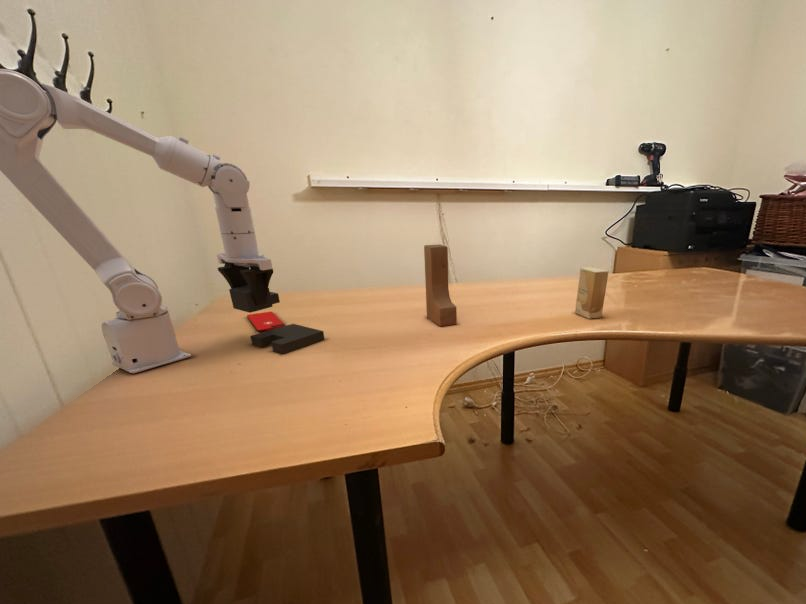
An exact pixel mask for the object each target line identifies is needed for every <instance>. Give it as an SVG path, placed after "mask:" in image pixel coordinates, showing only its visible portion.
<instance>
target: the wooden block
mask: <svg viewBox="0 0 806 604" xmlns="http://www.w3.org/2000/svg"><path fill="white" fill-rule="evenodd" d="M448 250H449V248H448V246H447V245H443V244H425V245H424V246H423V254H424V256H423V257H424V277H425V280H424V281H425V304H426V317H427V318H428V319H429V320H431V321H432V322H434V323H435V324H437V325H438V326H439V327H444V326H451V325H453V326H454V325H457V320H458V319H457V316H458V315H457V306H456V305H455V303H453V302H452V298H451V296H450V290H449V253H448V252H449V251H448Z"/></svg>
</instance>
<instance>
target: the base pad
mask: <svg viewBox="0 0 806 604" xmlns="http://www.w3.org/2000/svg"><path fill="white" fill-rule="evenodd" d="M250 340H251V344H252V346H255V347H259V348H266V347H268V346H271V348H272V351H273V352H274V353H278V354H281V355H284V354H287V353H291V352H293V351H296V350H299V349H302V348H305V347H309V346H312V345H313V344H316V343H319V342H322V341H324V340H325V333H324V330H321V329H316V328H313V327H309V326H305V325H302V324H301V325H300V324H297V323H290V324H287V325H285V326H283V327H280V328H276V329H273V330H267V331H261V332H258V333H255V334H252V335H250Z"/></svg>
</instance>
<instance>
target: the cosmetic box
mask: <svg viewBox="0 0 806 604" xmlns="http://www.w3.org/2000/svg"><path fill="white" fill-rule="evenodd" d="M608 277H609V271H608V270H607V269H602V268H598V267H594V266H587V267H581V268H580V271H579V277H578V287H577V294H576V302H575V309H574V313H575V314H577V315H579V316H582V317H584V318H586V319H588V320H591V319H598V318H602V316H603V309H604V303H605V298H606V297H605V296H606V290H607V284H608Z"/></svg>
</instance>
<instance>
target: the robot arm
mask: <svg viewBox="0 0 806 604" xmlns="http://www.w3.org/2000/svg"><path fill="white" fill-rule="evenodd" d="M39 83H40V85H41V86H40V85H39V84H38V83H37V82H36V81H34V79H32V78H30V77H29V76H26V75H25V74H23V73H20V72H18V71H15V70H12V69H6V68H0V172H1V173H2V174H3V175H4V176H5V177H6V178H7V180H9V182H10V183H11V184H12V185H13V186H14V187H15V188H16V189H17V190H18V191H19V192H20V193H21V194H22V195H23V196H24V198H26V199H27V200H28V201H29V203H30V204H31V205H32V206H33V207H34V208H35V209H36V210H37V212H39V213H40V215H42V217H43V218H44V219H45V220H46V221H47V222H48V223H49V224H50V225H51V226H52V227H53V228H54V229H55V230H56V232H57V233H58V234H60V236H61V237H62V238H64V240H65V241H66V242H67V243H68V244H69V245H70V246H71V247H72V249H74V251H75V252H76V253H77V254H78V255H79V256H80V257H81V258H82V259H83V260H84V261H85V262H86V263H87V264H88V266H90V267H91V269H92V270H93V271H94V272H95V274H96V275H97V277H98V278H99V279H100V281H101V282H102V283H103V284H104V286H105V287H106V288H107V289H108V290H109V292H110V294H111V295H112V296H111V297H112V301H113V303H114V305H115V307H116V308H117V310H118V311H116V312H115V316H116V317H115V318H113V319H110V320H106V321H103V322H102V323H101V331H102V334H103V338H104V341H105V344H106V346H107V348H108V352H109V354H110V358H111V361H112V362H111V363H112V365H113V366H114V367H117V368H119V369H122V370H123V371H126V372H128V373H129V374H136V373H140V372H143V371H147V370H151V369H153V368H157V367H160V366H164V365H167V364H171V363H174V362H177V361H181V360H185V359H187V358H191V357H192V354H191V353H189V352H186V351H184V350H180V347H179V342H178V338H177V336H176V333H175V329H174V326H173V323H172V322H173V321H172V319H171V315H170V311H169V309H168V307H167V306H164V305H162V303H163V298H162V297H163V296H162V294H161V292H160V290H159V287H158V284H157V282H155V280H154V279H153V278H152V277H151V276H149V275H147V274H145V273H143V272H141V271H139V270H138V269H137V268H136V267H135V266H134V265H133V264H132V263H131V262H130V260H128V259H127V258H126V256H124V255H123V253H121V251H120V250H119V249H118V248H117V247H116V246H115V245H114V243H113V241H111V240H110V239H109V237H108V236H107V235H106V234H105V233H104V232H103V231H102V230H101V228H100V227H99V226H98V225H97V224H96V222H94V220H93V219H92V218H91V217H90V215H88V214H87V212H86V211H85V210H84V209H83V208H82V207H81V206H80V205H79V203H78V202H77V201H76V200H75V199H74V197H72V196H71V194H70V192H68V191H67V190H66V188H65V187H64V186H63V185H62V184H61V182H60V181H58V179H57V178H56V177H55V175H53V173H51V172H50V170H49V169H48V168H47V167H46V165H45V164H44V163H43V162H42V161H41V160H40V154H41V150H42V147H43V143H44V138H45V137H46V135H48V134H49V133H50V131H52V129H53V128H54V127H55V125H57V124H59V125H60V127H61V128H62V129H63V130H88V131H91V132H93V133H96V134H97V135H100V136H103V137H105V138H107V139H110V140H112V141H114V142H117V143H120V144H122V145H124V146H127V147H129V148H131V149H134V150H135V151H138V152H140V153H143V154H146V155H148V156H151V157H152V158H153V160H154V162H155V163H156V165H157V166H158V168H159V169H160V170H162V171H164V172H167V173H169V174H172V175H174V176H176V177H178V178H180V179H183V180H185V181H188V182H190V183H192V184H193V185H196V186H199V187H201V188H205V187H207V188H208V190H209V191H210V192H212V193H213V194H212V196H213V199H214V204H215V209H214V210H215V213H216V218H217V222H218V227H219V232H220V237H221V241H222V245H223V250H224V252H223V253H216V257H217V262H218V264H221V265H223V266H217V271H218V272H219V274H221V275H222V276H223V278H224V279H225V281H226V282H227V283H228V285H229V287H230V289H233V288H237V287H242V286H247V285H248V286H249V288H250V291H251V295H252V298H253V300H254V303H255V305H262V304H266V303H267V294H268V288H269V285H270V281H271V278H272V276H273V274H274V268H273V264H272V259H271V258H267V257H265V254H263V253H260V251H259V248H258V241H257V235H256V231H255V226H254V225H255V224H254V220H253V215H252V210H251V207H250V204H249V198H248V193H249V191H250V185H251V184H250V180H248V178H247V175H246V173H245V172H244V171H243V170H242V169H241V168H239V167H238V165H237V166H236V165H234V164H232V163H228V162H223V163H222V162H221V157H220V156H219V155H217V154H216V153H215V154H214V153H213V155H212V154H209V153H207V152H205V151H203V150H201V149H199V148H196V147H195V146H194V145H191V144H189V139H187V138H185V137H183V136H181V135H180V136H178V138H177V137H175V136H173V135H166V136H161V137H156V136H155V135H152V134H150V133H149V132H147V131H145V130H143V129H141V128H139V127H138V126H135V125H134V124H132V123H129V122H128V121H125V120H124V119H121V118H119V117H117V116H115V115H114V114H111V113H110V112H107V111H106V110H104V109H101V108H99V107H97V105H93V104H92V103H90V102H88V101H86V100H85V99H83V98H80V97H78V96H75V95H73V94H71V93H69V92H67V91H64V90H62V89H60V88H57V87H55V86H53V85H50V84H47V83H45V82H41V81H40V82H39Z"/></svg>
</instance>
